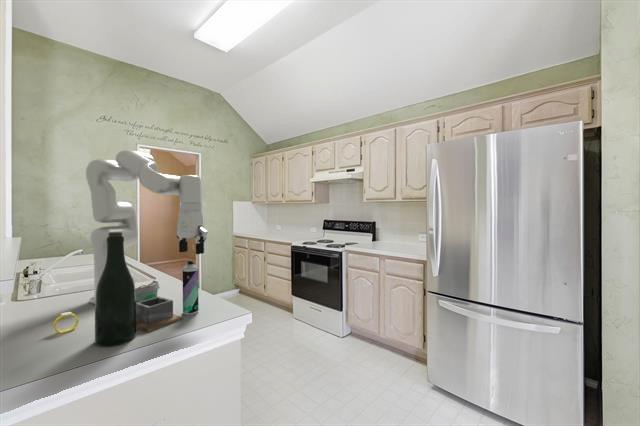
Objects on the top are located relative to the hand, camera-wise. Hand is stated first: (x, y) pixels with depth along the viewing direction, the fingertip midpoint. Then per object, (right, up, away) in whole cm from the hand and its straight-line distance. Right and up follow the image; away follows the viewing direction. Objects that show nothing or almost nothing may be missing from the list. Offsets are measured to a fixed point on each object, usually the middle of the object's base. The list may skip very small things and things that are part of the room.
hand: (191, 252), depth 108 cm
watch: (-33, -24, -16) cm, 44 cm away
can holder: (-10, -23, -8) cm, 26 cm away
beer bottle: (-13, -24, -21) cm, 35 cm away
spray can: (-1, -23, +1) cm, 23 cm away
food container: (-18, -23, +3) cm, 29 cm away
